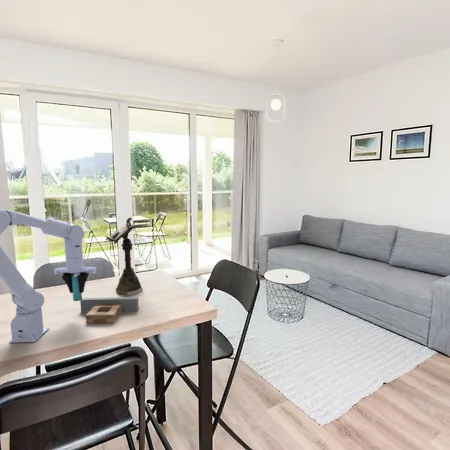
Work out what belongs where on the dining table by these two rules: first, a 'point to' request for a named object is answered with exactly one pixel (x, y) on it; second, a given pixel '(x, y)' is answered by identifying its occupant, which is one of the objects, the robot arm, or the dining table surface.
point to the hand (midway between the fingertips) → (77, 292)
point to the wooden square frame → (104, 313)
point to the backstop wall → (126, 302)
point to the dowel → (76, 289)
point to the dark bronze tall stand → (126, 262)
